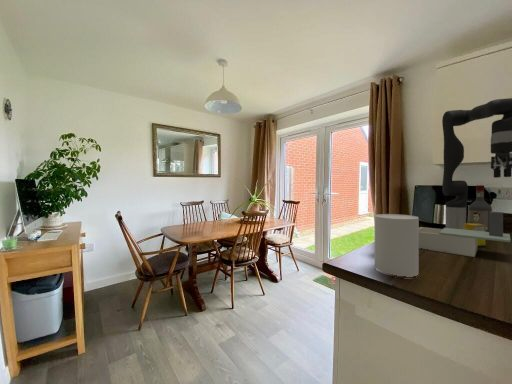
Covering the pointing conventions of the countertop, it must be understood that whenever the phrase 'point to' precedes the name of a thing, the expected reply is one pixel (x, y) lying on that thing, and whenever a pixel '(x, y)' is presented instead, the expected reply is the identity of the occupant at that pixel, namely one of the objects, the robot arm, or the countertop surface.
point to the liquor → (480, 209)
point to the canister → (397, 244)
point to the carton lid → (493, 234)
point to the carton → (446, 242)
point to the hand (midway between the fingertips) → (502, 177)
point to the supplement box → (476, 228)
